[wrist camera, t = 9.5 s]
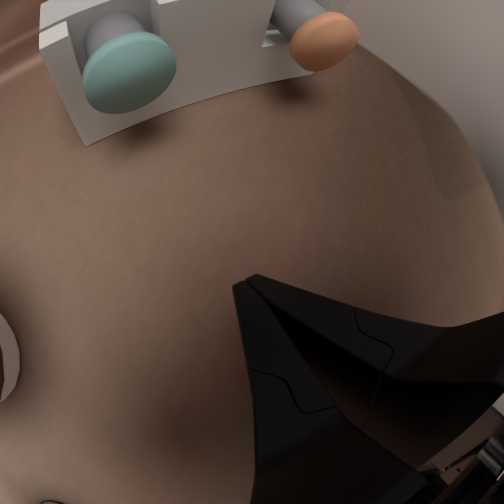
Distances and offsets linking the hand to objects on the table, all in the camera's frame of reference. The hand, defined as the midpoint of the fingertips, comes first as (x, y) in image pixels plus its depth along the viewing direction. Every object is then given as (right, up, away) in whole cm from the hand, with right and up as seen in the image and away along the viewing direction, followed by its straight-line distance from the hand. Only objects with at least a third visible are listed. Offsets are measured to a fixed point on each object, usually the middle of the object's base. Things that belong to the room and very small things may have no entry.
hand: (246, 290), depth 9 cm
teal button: (-7, +11, +5) cm, 14 cm away
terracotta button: (+3, +16, +9) cm, 18 cm away
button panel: (-5, +16, +12) cm, 20 cm away
